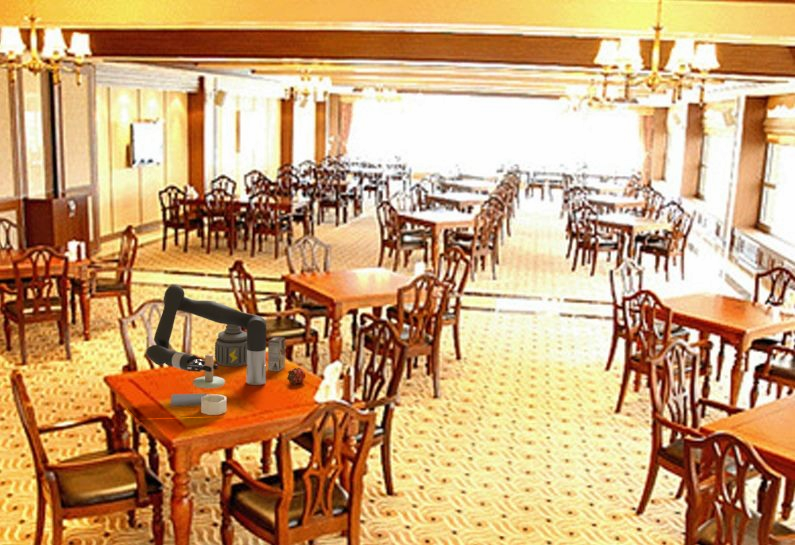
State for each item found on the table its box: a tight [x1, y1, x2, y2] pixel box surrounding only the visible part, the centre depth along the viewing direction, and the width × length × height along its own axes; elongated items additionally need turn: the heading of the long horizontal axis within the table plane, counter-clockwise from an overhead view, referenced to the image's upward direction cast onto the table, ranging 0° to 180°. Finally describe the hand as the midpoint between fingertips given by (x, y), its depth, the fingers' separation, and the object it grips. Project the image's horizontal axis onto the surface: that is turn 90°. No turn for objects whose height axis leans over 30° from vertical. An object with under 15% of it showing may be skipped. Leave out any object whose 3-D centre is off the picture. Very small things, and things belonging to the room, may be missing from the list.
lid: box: [192, 353, 226, 389], centre depth 384 cm, size 14×14×13 cm
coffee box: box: [267, 336, 286, 372], centre depth 449 cm, size 9×6×16 cm
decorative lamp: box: [214, 306, 247, 368], centre depth 456 cm, size 19×19×30 cm
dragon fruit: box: [286, 367, 307, 385], centre depth 429 cm, size 8×8×12 cm
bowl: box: [200, 394, 228, 416], centre depth 385 cm, size 11×11×6 cm
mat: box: [170, 393, 208, 407], centre depth 397 cm, size 16×16×1 cm
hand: (214, 368), depth 382 cm, fingers closed on lid, 3 cm apart
